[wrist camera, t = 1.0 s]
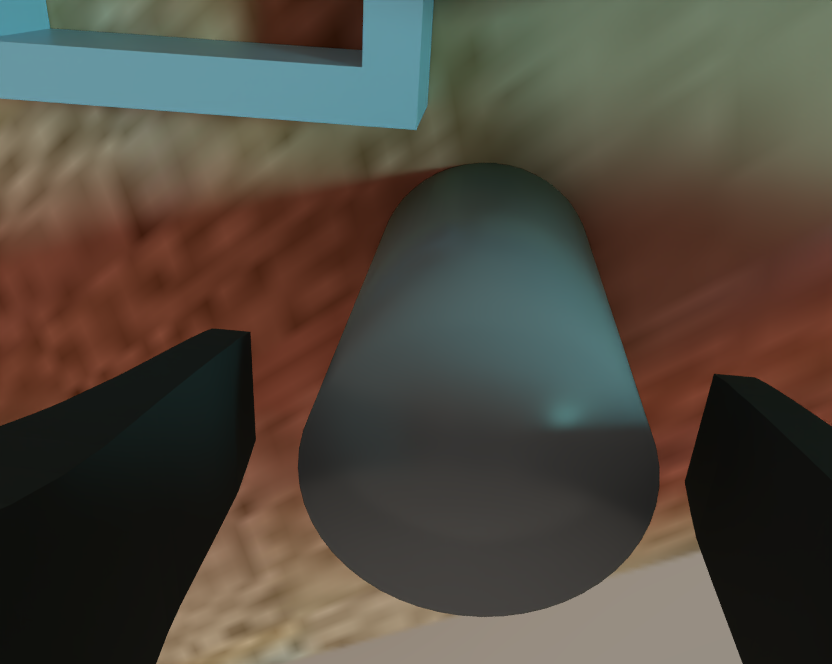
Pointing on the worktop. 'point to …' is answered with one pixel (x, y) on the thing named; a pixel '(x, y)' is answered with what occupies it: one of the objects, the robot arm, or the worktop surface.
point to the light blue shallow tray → (226, 69)
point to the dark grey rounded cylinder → (480, 407)
